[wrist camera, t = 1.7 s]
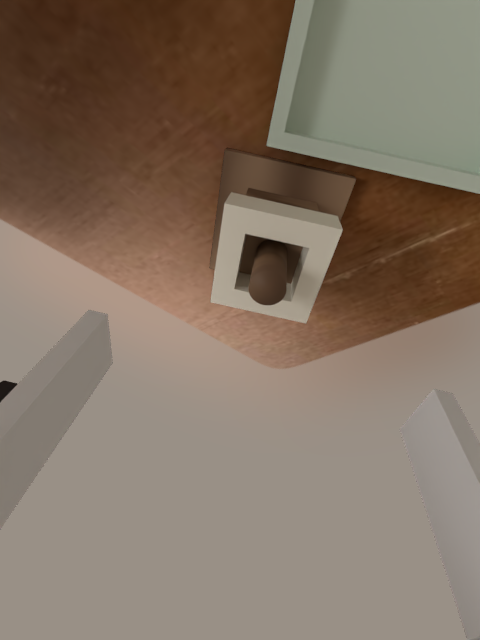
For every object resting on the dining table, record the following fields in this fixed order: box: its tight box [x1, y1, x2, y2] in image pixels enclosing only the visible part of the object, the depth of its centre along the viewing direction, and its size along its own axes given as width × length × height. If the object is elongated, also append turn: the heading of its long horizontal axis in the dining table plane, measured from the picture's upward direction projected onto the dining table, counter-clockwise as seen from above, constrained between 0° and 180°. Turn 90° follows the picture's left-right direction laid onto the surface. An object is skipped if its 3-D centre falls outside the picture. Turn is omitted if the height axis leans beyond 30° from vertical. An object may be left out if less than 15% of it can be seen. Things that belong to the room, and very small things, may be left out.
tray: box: [266, 0, 480, 194], centre depth 17 cm, size 16×16×2 cm
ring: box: [210, 192, 343, 323], centre depth 21 cm, size 7×7×2 cm
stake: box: [209, 148, 356, 305], centre depth 22 cm, size 10×10×11 cm
